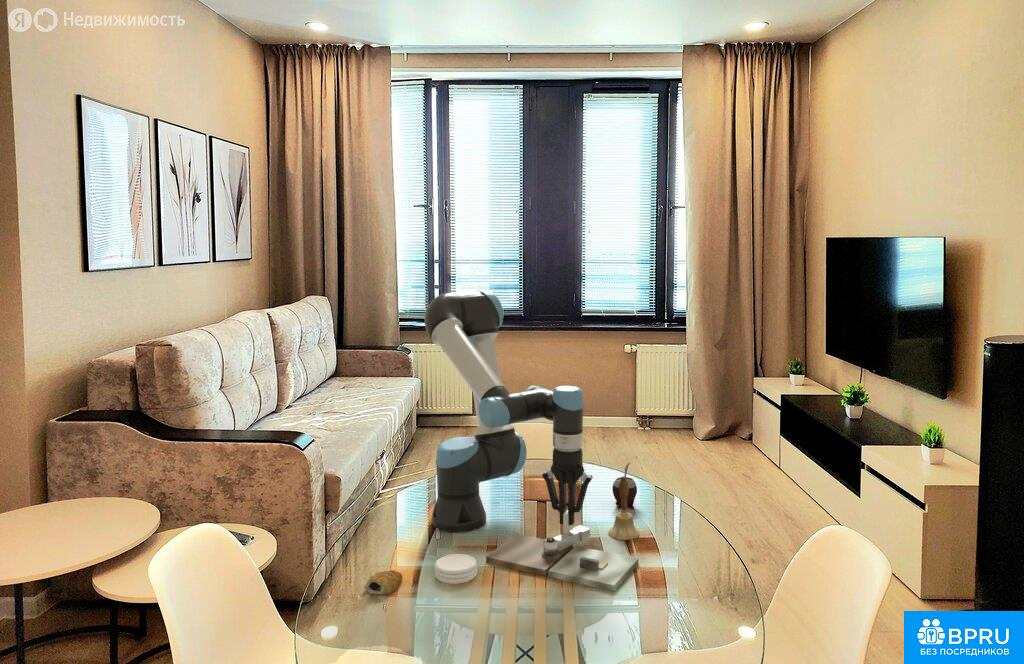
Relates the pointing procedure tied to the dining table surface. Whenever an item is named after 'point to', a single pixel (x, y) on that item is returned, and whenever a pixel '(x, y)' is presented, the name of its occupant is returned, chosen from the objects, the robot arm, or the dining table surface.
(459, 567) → the coaster
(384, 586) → the pastry
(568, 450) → the robot arm
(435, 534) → the dining table surface
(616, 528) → the hand bell
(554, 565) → the door board
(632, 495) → the mate gourd
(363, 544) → the dining table surface
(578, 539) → the swing bar
